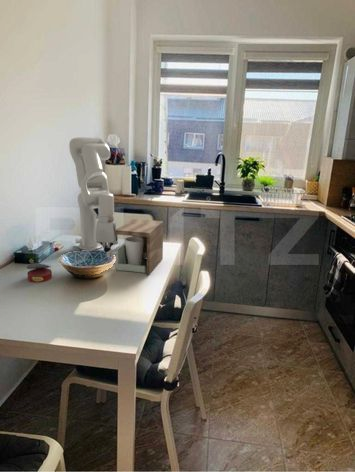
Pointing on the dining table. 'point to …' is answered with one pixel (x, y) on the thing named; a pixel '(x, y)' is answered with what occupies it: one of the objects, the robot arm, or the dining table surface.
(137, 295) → the dining table surface
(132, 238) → the foam cup
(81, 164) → the robot arm
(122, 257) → the pull out rack
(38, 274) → the canned food
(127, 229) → the counter shelf
